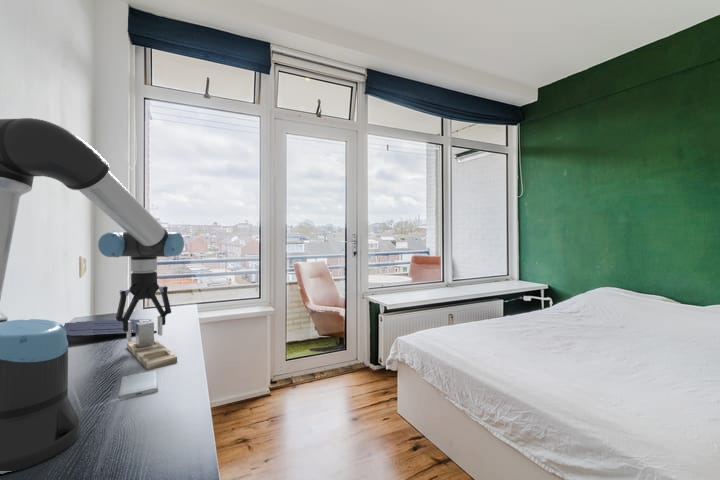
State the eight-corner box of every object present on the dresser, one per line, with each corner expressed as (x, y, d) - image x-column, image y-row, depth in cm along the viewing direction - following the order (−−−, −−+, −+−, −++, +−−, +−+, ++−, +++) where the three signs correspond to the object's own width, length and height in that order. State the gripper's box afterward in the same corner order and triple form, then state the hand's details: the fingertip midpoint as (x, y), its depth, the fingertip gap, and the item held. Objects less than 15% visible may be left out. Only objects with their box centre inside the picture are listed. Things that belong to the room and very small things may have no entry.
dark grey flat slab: (64, 328, 136) (66, 319, 136) (150, 325, 154) (151, 317, 154) (56, 344, 116) (58, 334, 116) (156, 338, 134) (157, 329, 134)
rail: (177, 363, 103) (177, 356, 103) (147, 371, 97) (147, 363, 97) (153, 343, 121) (153, 337, 121) (127, 349, 115) (127, 343, 115)
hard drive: (121, 376, 91) (118, 395, 80) (157, 369, 95) (157, 386, 85) (122, 382, 91) (118, 402, 81) (157, 375, 95) (158, 393, 85)
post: (154, 348, 114) (153, 322, 114) (139, 352, 111) (138, 325, 110) (150, 345, 117) (150, 320, 117) (135, 348, 114) (135, 322, 113)
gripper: (174, 268, 123) (175, 329, 124) (103, 273, 108) (104, 342, 109) (181, 270, 118) (182, 333, 119) (107, 275, 103) (108, 347, 103)
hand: (144, 337), depth 114 cm, fingers open, 8 cm apart
